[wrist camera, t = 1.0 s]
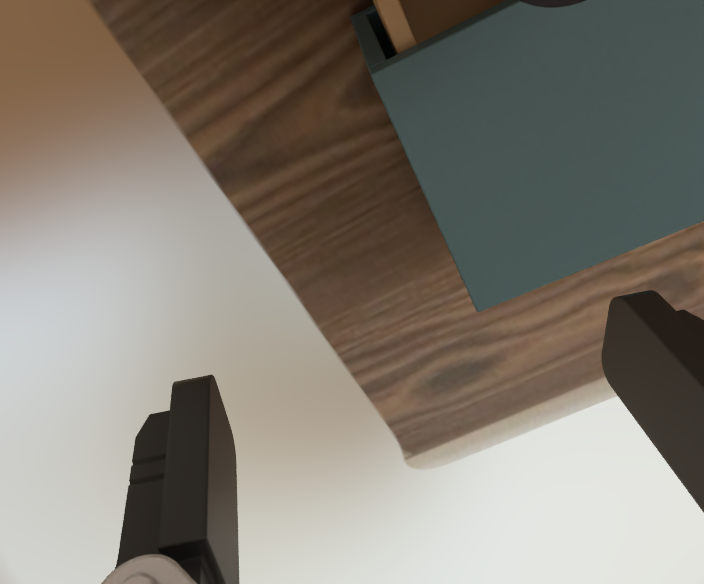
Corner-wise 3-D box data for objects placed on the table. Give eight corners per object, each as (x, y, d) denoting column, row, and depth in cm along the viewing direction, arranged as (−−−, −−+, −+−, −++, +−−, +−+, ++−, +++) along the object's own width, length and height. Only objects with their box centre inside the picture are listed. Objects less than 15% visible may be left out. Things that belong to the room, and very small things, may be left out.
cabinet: (349, 16, 31) (370, 75, 24) (609, -119, 29) (713, -96, 22) (442, 225, 39) (477, 313, 32) (653, 133, 37) (738, 207, 30)
